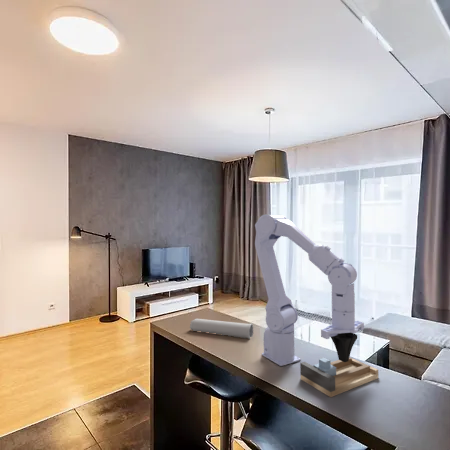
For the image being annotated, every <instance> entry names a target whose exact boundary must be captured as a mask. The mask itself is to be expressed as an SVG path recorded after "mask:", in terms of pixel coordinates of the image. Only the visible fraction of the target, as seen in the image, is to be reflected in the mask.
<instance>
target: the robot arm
mask: <svg viewBox="0 0 450 450" xmlns="http://www.w3.org/2000/svg"><path fill="white" fill-rule="evenodd" d="M254 227H255V240H254V247H255V251H256V255H257V259H258V263H259V268H260V271H261V274H262V278H263V283H264V287H265V290H266V295H267V299H268V300H267V302H266V305H265V312H266V315H265V322H266V323H265V324H266V325H267V327H266V328H265V330H264V332H263V352H262V353H261V356H263V357H265V358H266V359H267V360H270V361H272V362H273V363H274V364H276V365H277V366H280V367H282V366H286V365H289V364H293V363H297V362H300V361H301V360H302V359H301V358H300V357H298V356H297V355H295V354H296V353H295V323H296V322H297V321H298V318H299V316H298V312H297V309H296V308H295V307H294V305H293V302H292V300H291V299H290V298H289V297H288V296H287V295H286V291H285V287H284V283H283V280H282V277H281V276H282V275H281V272H280V269H279V265H278V260H277V257H276V254H275V249H274V246H275V244H276V242H277V241H278V240H279V239H280V238H281V237H283V238H284V237H286V238H287V239H289V240H291V241H292V242H293V243H295V244H296V245H297V246H298V247H299V248H300V249H302V250H303V251H304V252H306V253H307V254H308V260H309V261H310V262H311V264H313V265H314V266H315V267H316V268H318V269H319V270H320V271H321V272H322V273H323V274H325V276H327V279H328V281H329V283H330V285H331V324H329V325H328V326H326V327H323V328H322V329H320V337H321V338H323V339H325V340H329V339H331V340H332V343H333V344H334V347H335V351H336V354H337V358H338V360H341V361H343V362H348V360H349V357H350V358H351V352H352V348H353V347H354V344H355V342H356V341H357V339H358V334H357V333H359V330H360V331H364V330H365V323H364V322H363V321H359V320H356V315H355V314H356V310H355V309H356V308H355V307H356V306H355V304H356V301H355V298H356V297H355V282H356V280H357V276H358V272H357V270H356V268H355V267H354V266H353V264H351V263H348V262H345V260H344V259H343V258H342V257H341V258H339V257H338V256H337V255H336V254H334V252H333V251H331V250H332V248H331V247H330V246H328V245H324V244H318V245H317V244H316V243H315V242H314V241H312V239H311V238H310V237H308V235H306V234H305V233H304V232H303V231H302V230H300V229H299V227H297V225H295V224H294V223H293V222H292V221H291V220H290V219H288V218H287V217H286V216H285V215H282V214H278V215H276V214H275V215H274V214H262V215H260V216H259V218H258V219H257V221H256V222H255V224H254Z"/></svg>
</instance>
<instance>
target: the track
mask: <svg viewBox="0 0 450 450" xmlns="http://www.w3.org/2000/svg"><path fill="white" fill-rule="evenodd" d="M331 365H333V366H335V367H336V375H335V376H331V375H329V374H327V373H325V372H324V371H322V370H320V369H318V368H316V367H314V366H313V365H312V364H310V363H309V362H306V361H303V362H300V364H299V367H300V368H299V371H300V380H301V381H303V382H305V383H306V384H308V385H310V386H311V387H313V388H315V389H316V390H318V391H319V392H320V393H323V394H325V395H326V396H327V397H329V398H333V397H335V396H337V395H341V394H342V393H345V392H347V391H350V390H352V389H354V388H357V387H360V386H362V385H364V384H367V383H369V382H372V381H375V380H378V379H379V369H378V368H375V367H373V366H371V365H368V364H367V363H365V362H361V361H360V360H357V359H355V358H352V357H351V356H350V357H349V360H348V362H343V361H341V360H339V359H337V360H334V361H331Z"/></svg>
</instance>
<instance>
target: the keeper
mask: <svg viewBox="0 0 450 450" xmlns="http://www.w3.org/2000/svg"><path fill="white" fill-rule="evenodd" d="M331 362H332V360H330V359H328V358H326V357H321V358H318V363H315V364H313V365H312V366H314V367H316V368H318V369H320V370H322V371H324V372H325V373H327V374H329V375H331V376H335V375H336V367H335V366H333V365H331Z"/></svg>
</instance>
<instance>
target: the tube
mask: <svg viewBox="0 0 450 450" xmlns="http://www.w3.org/2000/svg"><path fill="white" fill-rule="evenodd" d="M189 329H190V330H191V331H192V330H193V331H201V332H209V333H216V334H222V335H221V336H224V335H228V336H227V337H231V336H234V337H233V338H239V337H241V338H240V339H246V338H248V339H247V340H251V339H250V337H252V338H253V335H254V326H253V323H243V322H236V321H235V322H234V321H222V320H213V319H206V318H195V319H193V320H190V326H189ZM193 331H192V332H193ZM201 332H200V333H201ZM216 334H215V335H216Z"/></svg>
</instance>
